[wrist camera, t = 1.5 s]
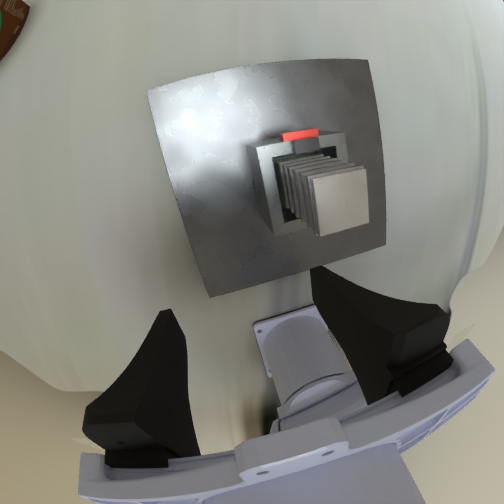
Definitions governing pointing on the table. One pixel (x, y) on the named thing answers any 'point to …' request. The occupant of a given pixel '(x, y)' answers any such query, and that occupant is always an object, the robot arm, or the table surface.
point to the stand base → (266, 163)
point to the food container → (11, 22)
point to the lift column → (323, 191)
